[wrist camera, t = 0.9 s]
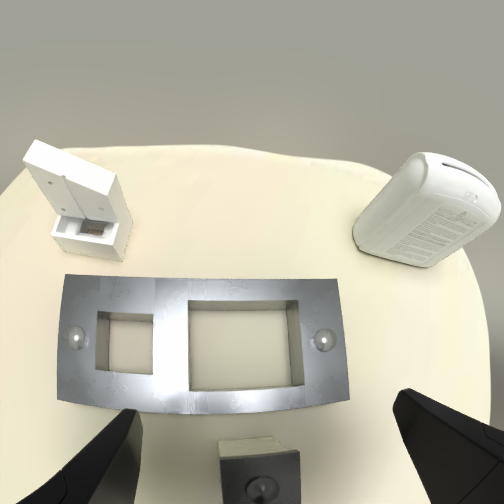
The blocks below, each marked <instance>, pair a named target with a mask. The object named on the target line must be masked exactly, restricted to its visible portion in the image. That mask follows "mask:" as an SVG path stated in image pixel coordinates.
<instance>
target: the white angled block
mask: <svg viewBox="0 0 504 504" xmlns="http://www.w3.org/2000/svg"><path fill="white" fill-rule="evenodd" d="M23 162H24V164H25V165H26V167H27V169H28V170H29V172H30V173H31V175H32V177H33V178H34V180H35V181H36V183H37V185H38V186H39V188H40V189H41V191H42V192H43V194H44V195H45V197H46V198H47V200H48V201H49V203H50V204H51V206H52V207H53V208H54V210H55V211H56V213H57V214H58V217H57V220H56V222H55V225H54V227H53V230H52V233H51V236H52V238H53V239H54V240H55V241H56V242H57V243H58V244H59V246H60V247H61V248H62V249H63V250H64V251H65V252H70V253H75V254H81V255H86V256H92V257H98V258H103V259H109V260H115V261H121V262H123V258H124V254H125V250H126V247H127V243H128V239H129V236H130V232H131V229H132V225H133V221H132V218H131V215H130V213H129V210H128V207H127V204H126V201H125V199H124V196H123V193H122V190H121V187H120V184H119V181H118V178H117V175H116V174H115V173H113V172H111V171H108V170H106V169H104V168H101V167H99V166H97V165H95V164H92V163H90V162H88V161H85V160H83V159H81V158H78V157H76V156H74V155H71V154H69V153H67V152H64V151H62V150H60V149H57V148H55V147H52V146H50V145H48V144H45V143H43V142H41V141H38V140H34V142H33V144H32V145H31V147H30V149H29V150H28V152H27V154H26V155H25V157H24V159H23ZM89 229H93V230H100V231H103V234H102V236H99V235H93V234H87V233H88V230H89Z"/></svg>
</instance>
